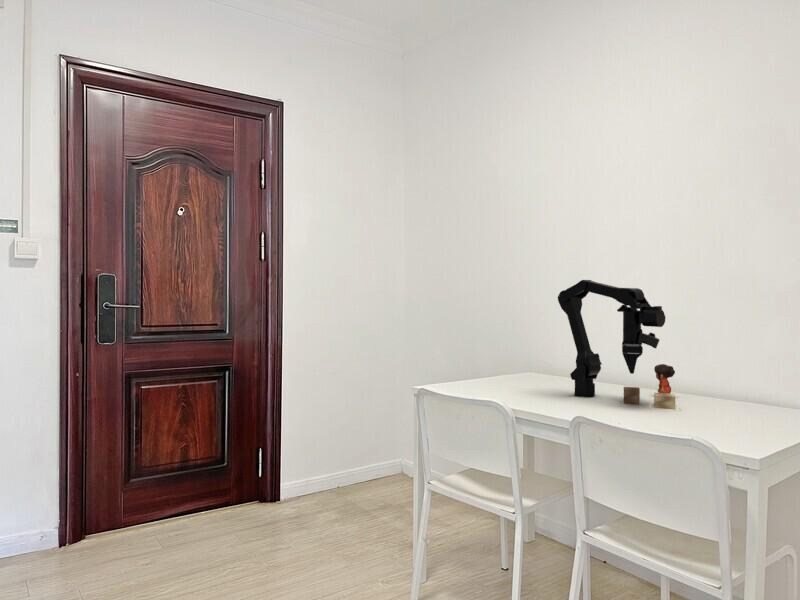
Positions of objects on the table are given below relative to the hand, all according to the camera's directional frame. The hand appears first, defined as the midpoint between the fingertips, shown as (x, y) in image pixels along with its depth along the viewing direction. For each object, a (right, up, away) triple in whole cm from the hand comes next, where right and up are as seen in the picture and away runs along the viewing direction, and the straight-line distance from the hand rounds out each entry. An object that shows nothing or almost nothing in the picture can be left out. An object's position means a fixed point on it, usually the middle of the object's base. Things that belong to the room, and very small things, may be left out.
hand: (631, 371), depth 205 cm
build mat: (+4, -11, -4) cm, 12 cm away
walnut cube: (0, -11, 0) cm, 11 cm away
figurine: (+16, -11, +12) cm, 23 cm away
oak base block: (+8, -11, -7) cm, 15 cm away
